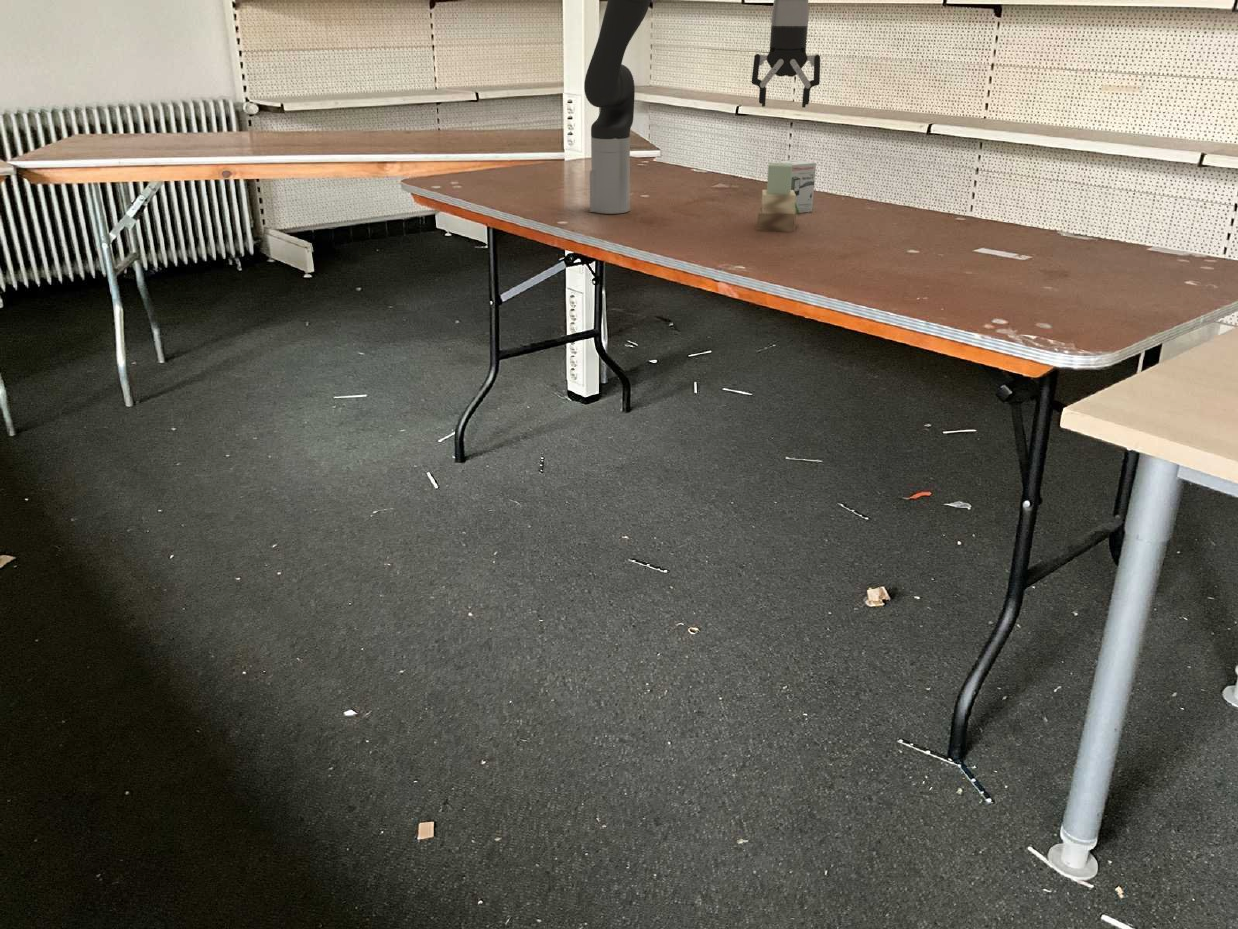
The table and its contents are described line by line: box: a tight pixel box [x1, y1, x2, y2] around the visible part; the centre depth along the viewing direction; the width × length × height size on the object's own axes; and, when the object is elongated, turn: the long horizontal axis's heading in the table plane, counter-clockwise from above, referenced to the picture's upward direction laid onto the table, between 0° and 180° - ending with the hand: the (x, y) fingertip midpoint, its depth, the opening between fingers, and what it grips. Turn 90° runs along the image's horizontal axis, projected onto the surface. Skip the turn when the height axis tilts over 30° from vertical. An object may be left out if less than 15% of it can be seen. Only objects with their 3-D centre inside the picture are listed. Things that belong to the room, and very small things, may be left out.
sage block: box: [766, 162, 793, 195], centre depth 215 cm, size 5×5×6 cm
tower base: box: [756, 207, 797, 233], centre depth 219 cm, size 8×8×4 cm
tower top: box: [760, 189, 796, 214], centre depth 218 cm, size 7×7×4 cm
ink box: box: [776, 159, 817, 214], centre depth 234 cm, size 9×5×12 cm, turn 119°
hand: (783, 106), depth 209 cm, fingers open, 8 cm apart
